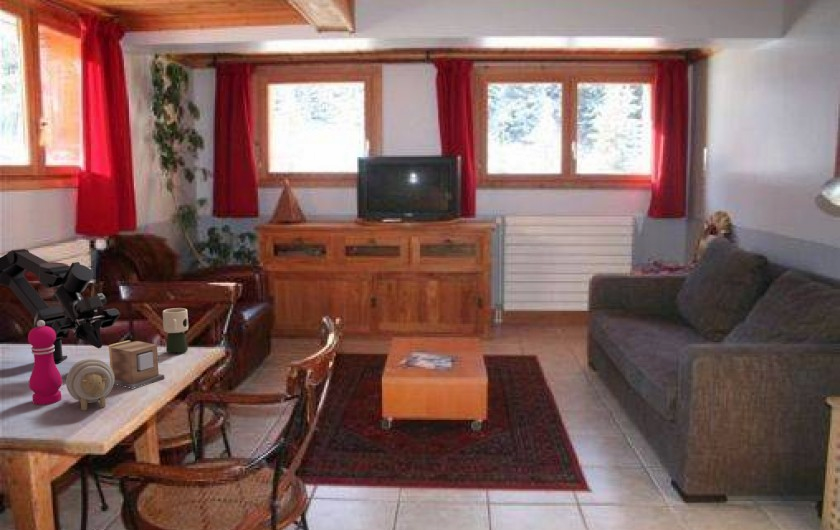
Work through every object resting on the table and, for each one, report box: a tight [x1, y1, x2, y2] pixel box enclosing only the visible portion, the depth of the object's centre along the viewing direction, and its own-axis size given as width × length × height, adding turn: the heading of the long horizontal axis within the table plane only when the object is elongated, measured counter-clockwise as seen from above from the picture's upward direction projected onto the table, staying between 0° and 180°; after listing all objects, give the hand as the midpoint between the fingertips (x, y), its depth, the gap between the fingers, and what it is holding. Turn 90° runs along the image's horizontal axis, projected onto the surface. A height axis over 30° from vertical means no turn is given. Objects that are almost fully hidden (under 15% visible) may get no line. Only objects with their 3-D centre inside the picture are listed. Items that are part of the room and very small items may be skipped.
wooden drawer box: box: [111, 340, 165, 389], centre depth 194 cm, size 18×10×9 cm, turn 59°
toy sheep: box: [65, 357, 115, 412], centre depth 174 cm, size 11×17×11 cm, turn 35°
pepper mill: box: [27, 320, 63, 405], centre depth 176 cm, size 7×7×20 cm
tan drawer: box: [108, 340, 153, 371], centre depth 192 cm, size 11×6×7 cm, turn 59°
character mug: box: [162, 307, 189, 354], centre depth 220 cm, size 11×7×13 cm, turn 15°
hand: (100, 347), depth 199 cm, fingers closed
